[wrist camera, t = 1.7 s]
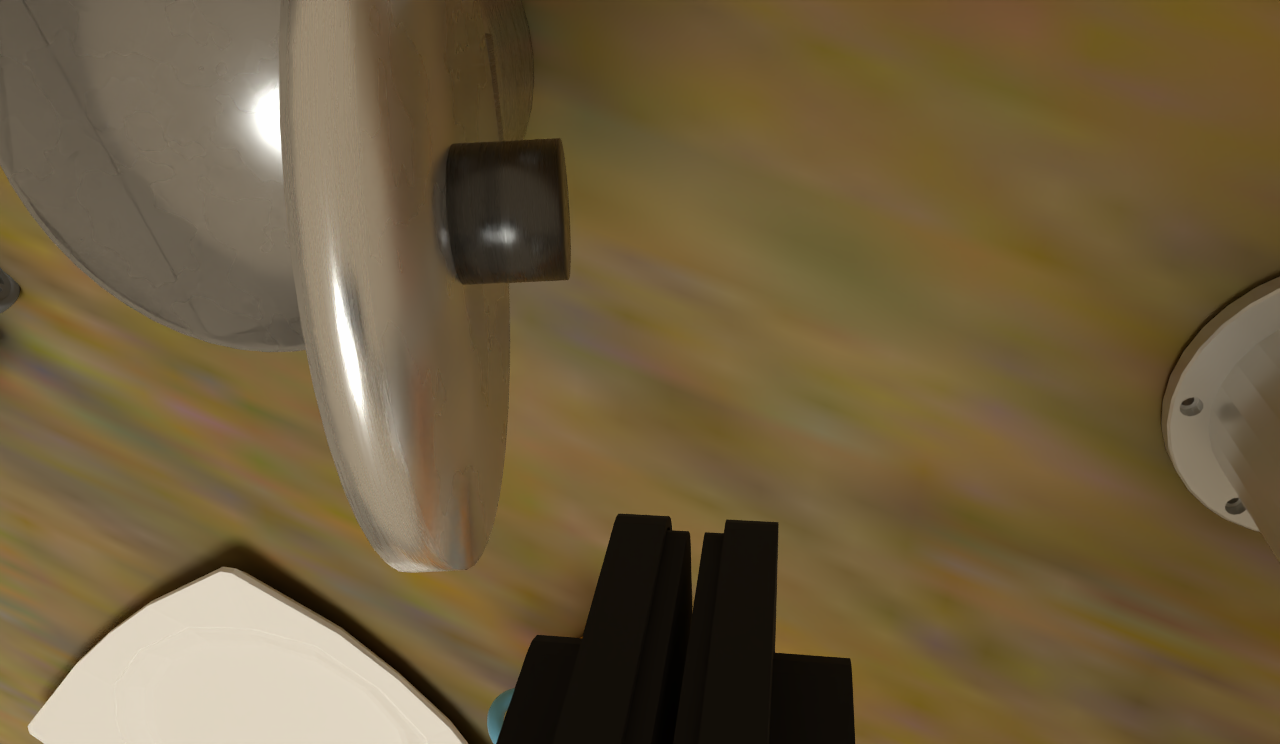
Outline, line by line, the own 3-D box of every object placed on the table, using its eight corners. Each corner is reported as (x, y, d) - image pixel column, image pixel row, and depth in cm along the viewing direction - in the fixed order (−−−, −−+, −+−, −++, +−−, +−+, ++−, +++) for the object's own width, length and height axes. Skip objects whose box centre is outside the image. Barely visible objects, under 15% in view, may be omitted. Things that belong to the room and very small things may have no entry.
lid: (423, -178, 27) (556, -185, 27) (491, 349, 35) (595, 344, 35) (181, -187, 12) (479, -202, 12) (395, 741, 20) (577, 733, 20)
